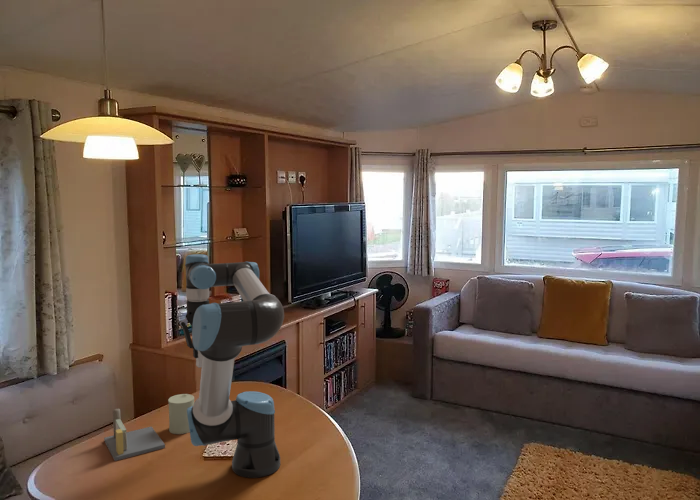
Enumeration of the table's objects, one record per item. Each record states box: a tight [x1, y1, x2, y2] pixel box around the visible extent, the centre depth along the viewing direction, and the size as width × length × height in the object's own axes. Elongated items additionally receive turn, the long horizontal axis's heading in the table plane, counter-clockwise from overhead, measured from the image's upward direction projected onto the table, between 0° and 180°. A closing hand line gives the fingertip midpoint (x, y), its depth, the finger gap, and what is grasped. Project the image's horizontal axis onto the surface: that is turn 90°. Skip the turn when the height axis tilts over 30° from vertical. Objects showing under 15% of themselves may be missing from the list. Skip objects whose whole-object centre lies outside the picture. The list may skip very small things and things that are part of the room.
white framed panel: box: [116, 418, 127, 450], centre depth 182 cm, size 10×2×7 cm, turn 34°
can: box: [167, 393, 195, 435], centre depth 197 cm, size 9×9×12 cm
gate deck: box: [103, 408, 166, 462], centre depth 184 cm, size 17×16×11 cm
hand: (199, 366), depth 186 cm, fingers closed
